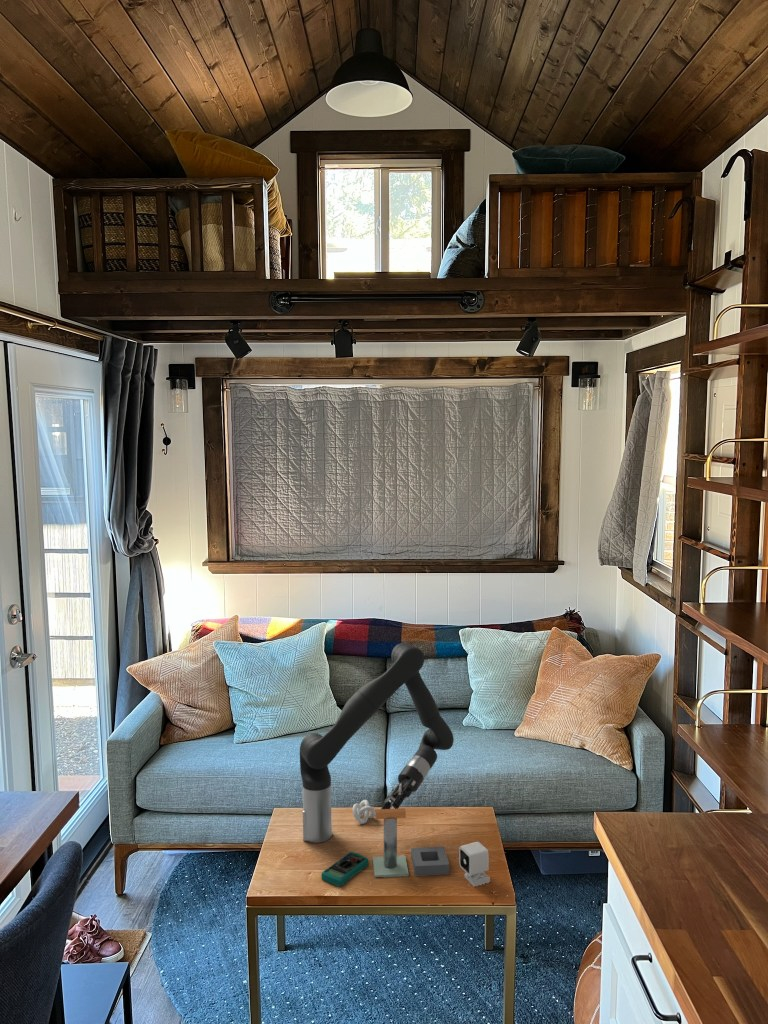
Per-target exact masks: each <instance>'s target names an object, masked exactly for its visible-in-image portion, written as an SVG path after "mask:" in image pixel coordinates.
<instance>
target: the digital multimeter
mask: <svg viewBox="0 0 768 1024" xmlns="http://www.w3.org/2000/svg"><path fill="white" fill-rule="evenodd" d="M369 860H370V859H369V858H367V857H366V856H364V855H362V854H359V853H357V852H353V851H350V852H348V853H346V855H344V856H342V857H341V858H340V859H339V860H337V861H336V862H334V863H333V864H332V865H330V866H329V867H328V868H326V869H324V870H323V871H322V872H321V880H323V881H324V882H326V883H329V884H331V885H334V886H336V885H337V887H340V886H341V887H342V886H343V885H344V884H345V885H346V883H347V882H348V881H350V880H351V879H352V878H353V877H354V876H356V875H357V874H358V873H360V872H361V871H362V870H363V868H364V869H365V868H366V866H367V867H368V866H369V862H370V861H369ZM360 870H361V871H360ZM359 871H360V872H359ZM355 874H356V875H355ZM350 878H351V879H350Z"/></svg>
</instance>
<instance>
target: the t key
mask: <svg viewBox="0 0 768 1024" xmlns="http://www.w3.org/2000/svg"><path fill="white" fill-rule="evenodd" d="M406 814H407V811H406V808H404V807H403V808H398V809H395V808H390V809H381V808H379V809H375V817H374V818H375V820H383V857H384V867H386V868H389V869H392V868H395V867H396V866H397V856H398V819H406V817H407V816H406Z"/></svg>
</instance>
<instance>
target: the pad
mask: <svg viewBox="0 0 768 1024" xmlns="http://www.w3.org/2000/svg"><path fill="white" fill-rule="evenodd" d="M373 866H374V867H373ZM372 867H373V873H374V879H377V878H376V877H384V878H400V877H402V876H403V877H409V876H410V875H409V873H410V872H409V868H408V864H407V857H406V855H397V866H396V867H395V868H392V869H389V868H386V867H384V856H372Z"/></svg>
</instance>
